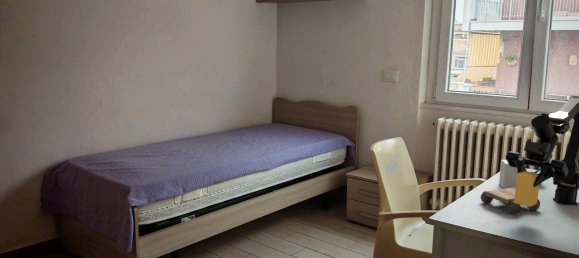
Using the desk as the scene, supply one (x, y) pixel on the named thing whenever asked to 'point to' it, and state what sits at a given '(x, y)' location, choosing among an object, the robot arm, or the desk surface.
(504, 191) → the dolly
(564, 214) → the desk surface
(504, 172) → the small box
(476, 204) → the desk surface
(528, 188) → the yellow upright rectangular block
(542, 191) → the desk surface
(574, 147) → the robot arm
